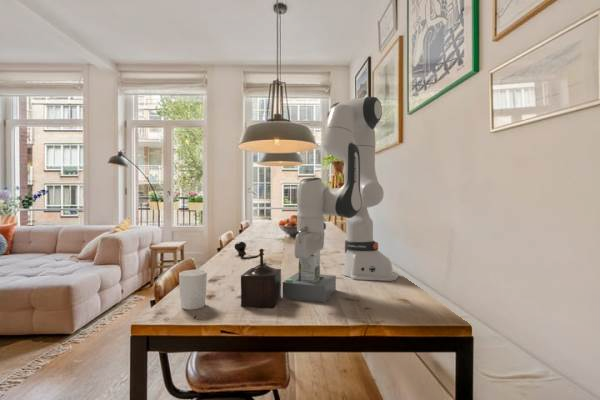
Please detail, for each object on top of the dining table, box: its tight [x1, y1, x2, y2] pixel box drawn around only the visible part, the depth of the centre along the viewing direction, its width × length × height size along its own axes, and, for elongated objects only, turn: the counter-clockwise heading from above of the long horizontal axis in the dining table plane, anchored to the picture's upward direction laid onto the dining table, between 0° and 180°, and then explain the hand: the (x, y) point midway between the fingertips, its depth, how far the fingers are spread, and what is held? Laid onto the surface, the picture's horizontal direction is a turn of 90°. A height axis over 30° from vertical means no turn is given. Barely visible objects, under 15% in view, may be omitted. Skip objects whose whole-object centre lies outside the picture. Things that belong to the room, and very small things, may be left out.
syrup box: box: [298, 250, 321, 283], centre depth 104 cm, size 6×6×14 cm
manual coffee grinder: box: [234, 241, 282, 309], centre depth 97 cm, size 16×11×18 cm
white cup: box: [178, 268, 208, 311], centre depth 93 cm, size 8×8×10 cm
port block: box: [282, 271, 337, 304], centre depth 104 cm, size 14×14×6 cm
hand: (309, 267), depth 104 cm, fingers open, 6 cm apart
